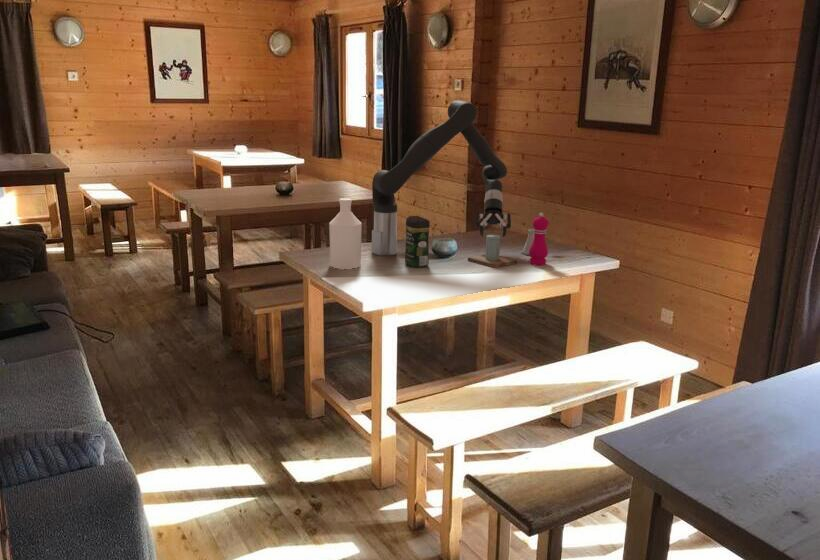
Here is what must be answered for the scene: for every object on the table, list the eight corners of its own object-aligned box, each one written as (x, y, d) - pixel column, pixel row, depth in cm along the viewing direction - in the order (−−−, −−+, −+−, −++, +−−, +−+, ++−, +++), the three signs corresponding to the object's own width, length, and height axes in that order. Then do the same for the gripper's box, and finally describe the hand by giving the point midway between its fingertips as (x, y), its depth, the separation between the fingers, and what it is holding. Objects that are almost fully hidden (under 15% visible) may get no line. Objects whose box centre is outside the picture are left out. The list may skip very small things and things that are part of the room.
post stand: (494, 267, 255) (494, 251, 254) (467, 260, 266) (468, 245, 264) (516, 263, 263) (517, 247, 262) (490, 256, 274) (491, 241, 272)
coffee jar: (401, 262, 259) (402, 214, 254) (420, 261, 262) (421, 213, 258) (412, 268, 251) (413, 219, 246) (431, 267, 254) (433, 218, 249)
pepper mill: (540, 260, 268) (544, 210, 263) (550, 264, 262) (554, 213, 257) (524, 261, 266) (528, 211, 261) (534, 266, 259) (538, 214, 254)
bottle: (359, 261, 259) (359, 196, 253) (363, 269, 248) (364, 201, 242) (328, 262, 257) (327, 196, 250) (331, 270, 246) (330, 201, 239)
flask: (540, 256, 277) (542, 232, 274) (522, 255, 277) (524, 231, 274) (537, 252, 284) (539, 228, 281) (520, 251, 284) (521, 228, 281)
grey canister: (492, 260, 261) (493, 238, 258) (482, 258, 265) (483, 235, 262) (501, 259, 264) (503, 236, 262) (491, 256, 268) (493, 234, 266)
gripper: (476, 197, 278) (475, 229, 270) (511, 198, 277) (511, 231, 269) (476, 207, 285) (474, 239, 277) (510, 209, 284) (509, 241, 276)
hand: (492, 235), depth 273 cm, fingers open, 8 cm apart
